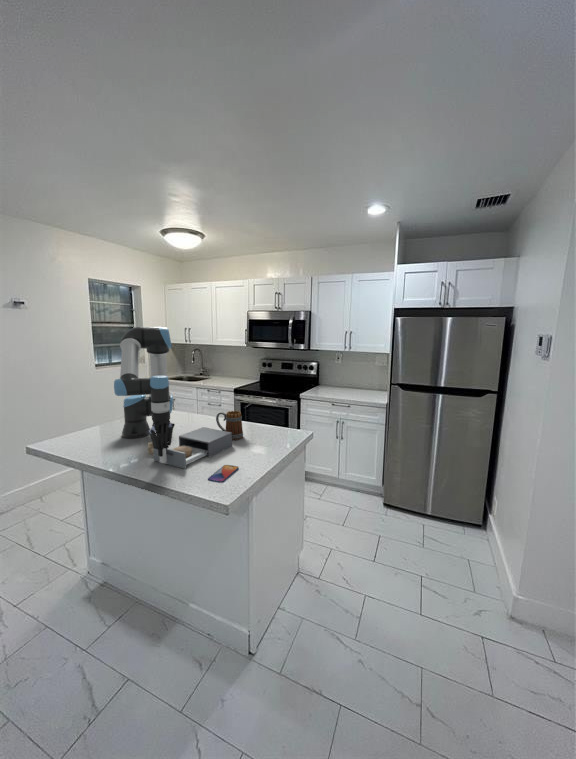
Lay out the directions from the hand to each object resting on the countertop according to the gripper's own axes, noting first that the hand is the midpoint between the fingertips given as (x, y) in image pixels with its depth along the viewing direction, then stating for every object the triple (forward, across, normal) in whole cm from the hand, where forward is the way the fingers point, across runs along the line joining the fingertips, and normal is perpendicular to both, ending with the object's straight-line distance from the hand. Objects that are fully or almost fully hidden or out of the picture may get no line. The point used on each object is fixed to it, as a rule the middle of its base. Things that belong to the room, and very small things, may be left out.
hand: (163, 462), depth 143 cm
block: (+2, +11, +18) cm, 21 cm away
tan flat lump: (+1, +11, 0) cm, 11 cm away
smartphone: (+3, +8, -28) cm, 29 cm away
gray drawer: (+2, +11, 0) cm, 11 cm away
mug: (+3, +48, 0) cm, 48 cm away
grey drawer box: (+2, +28, 0) cm, 28 cm away
